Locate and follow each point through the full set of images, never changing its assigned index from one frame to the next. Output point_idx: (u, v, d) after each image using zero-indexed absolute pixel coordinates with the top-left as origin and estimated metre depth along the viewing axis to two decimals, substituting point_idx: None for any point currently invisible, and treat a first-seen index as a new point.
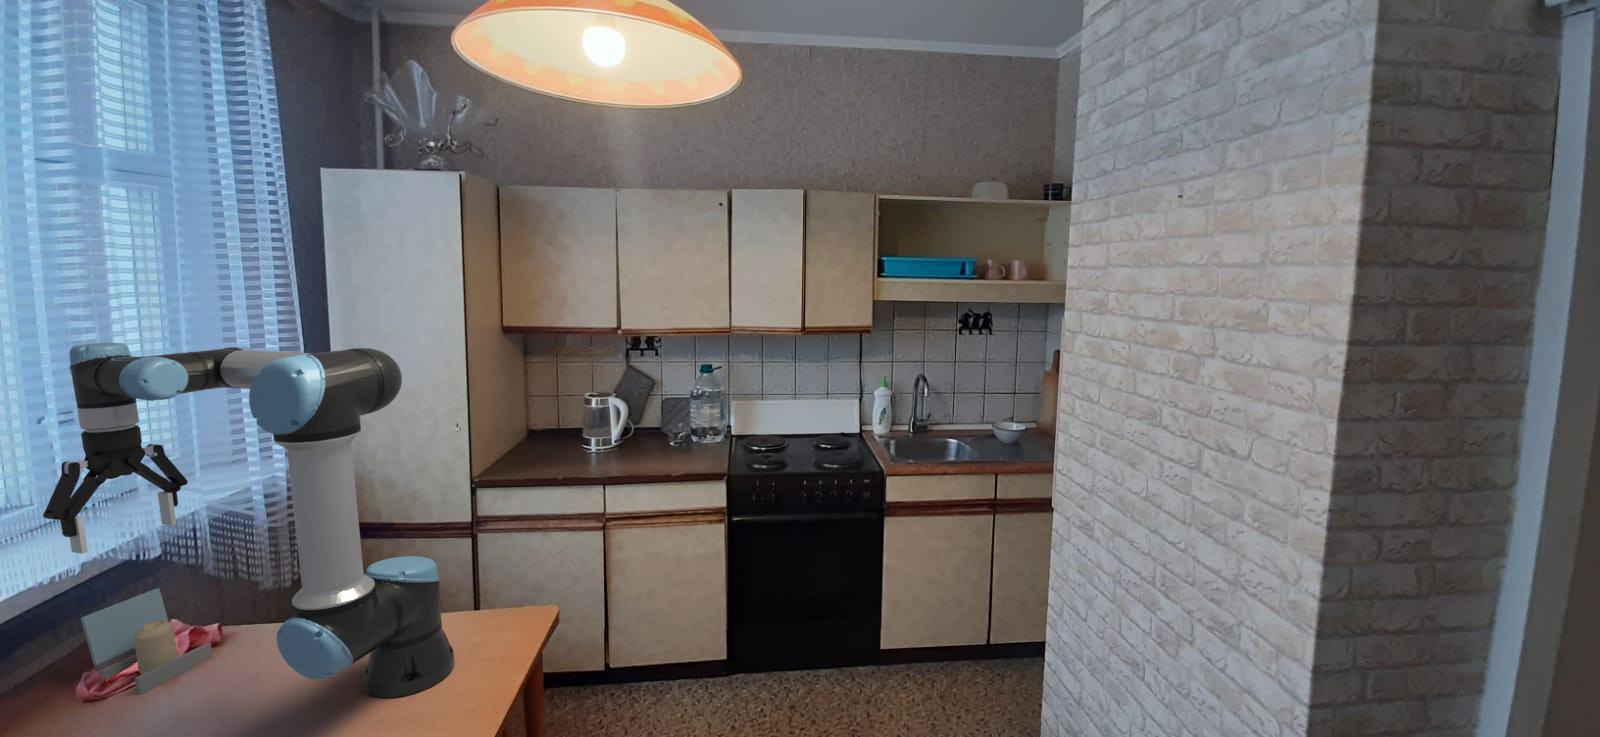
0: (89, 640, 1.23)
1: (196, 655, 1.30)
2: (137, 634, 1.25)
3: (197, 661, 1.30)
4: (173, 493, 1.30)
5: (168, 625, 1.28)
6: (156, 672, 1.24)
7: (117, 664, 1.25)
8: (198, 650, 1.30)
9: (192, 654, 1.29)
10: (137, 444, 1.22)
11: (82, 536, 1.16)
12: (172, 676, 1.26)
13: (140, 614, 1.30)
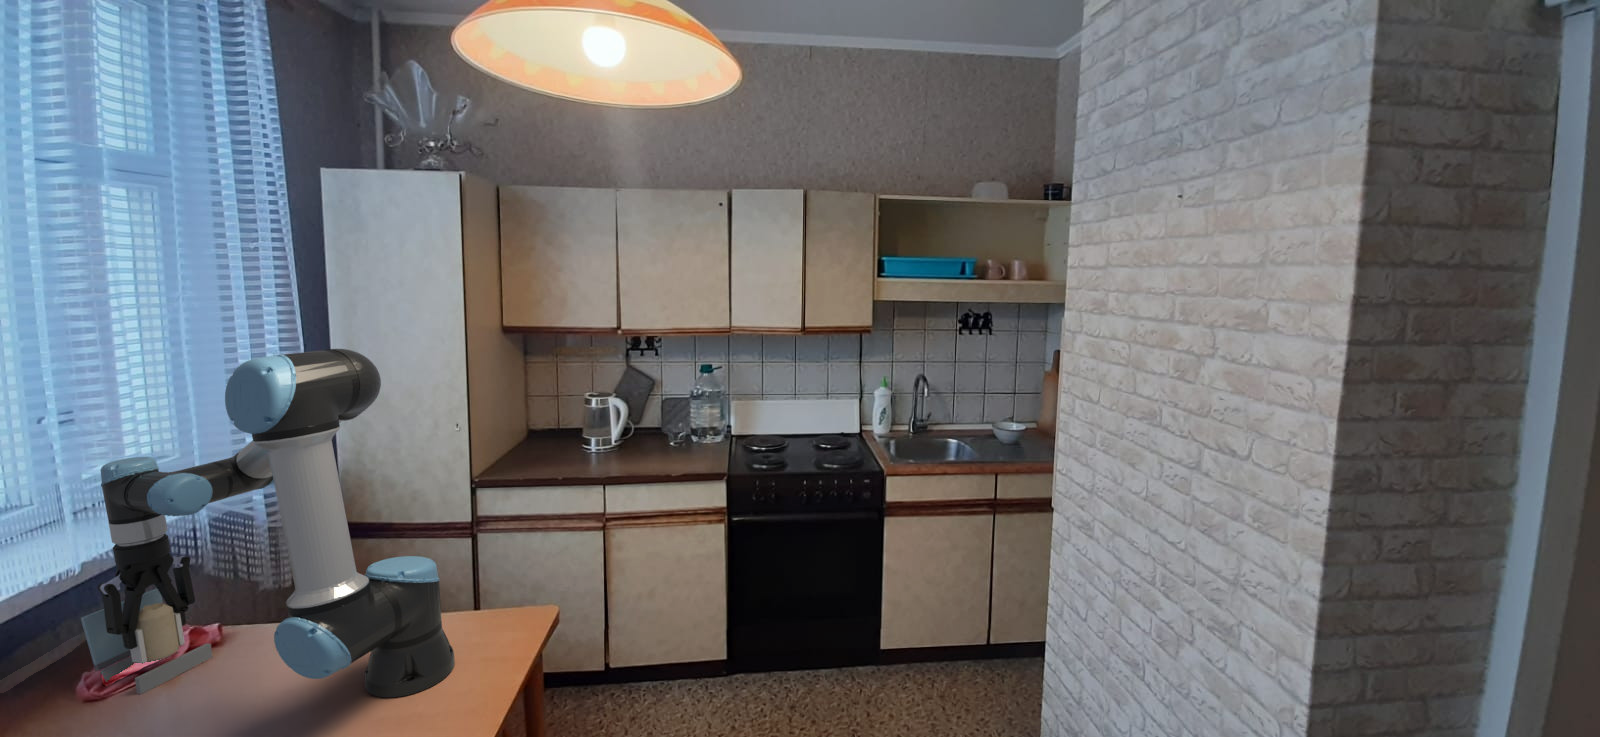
0: (89, 640, 1.23)
1: (196, 655, 1.30)
2: None
3: (197, 661, 1.30)
4: (181, 613, 1.31)
5: (167, 607, 1.27)
6: (156, 672, 1.24)
7: (117, 664, 1.25)
8: (198, 650, 1.30)
9: (192, 654, 1.29)
10: (166, 553, 1.26)
11: (142, 647, 1.24)
12: (172, 676, 1.26)
13: None
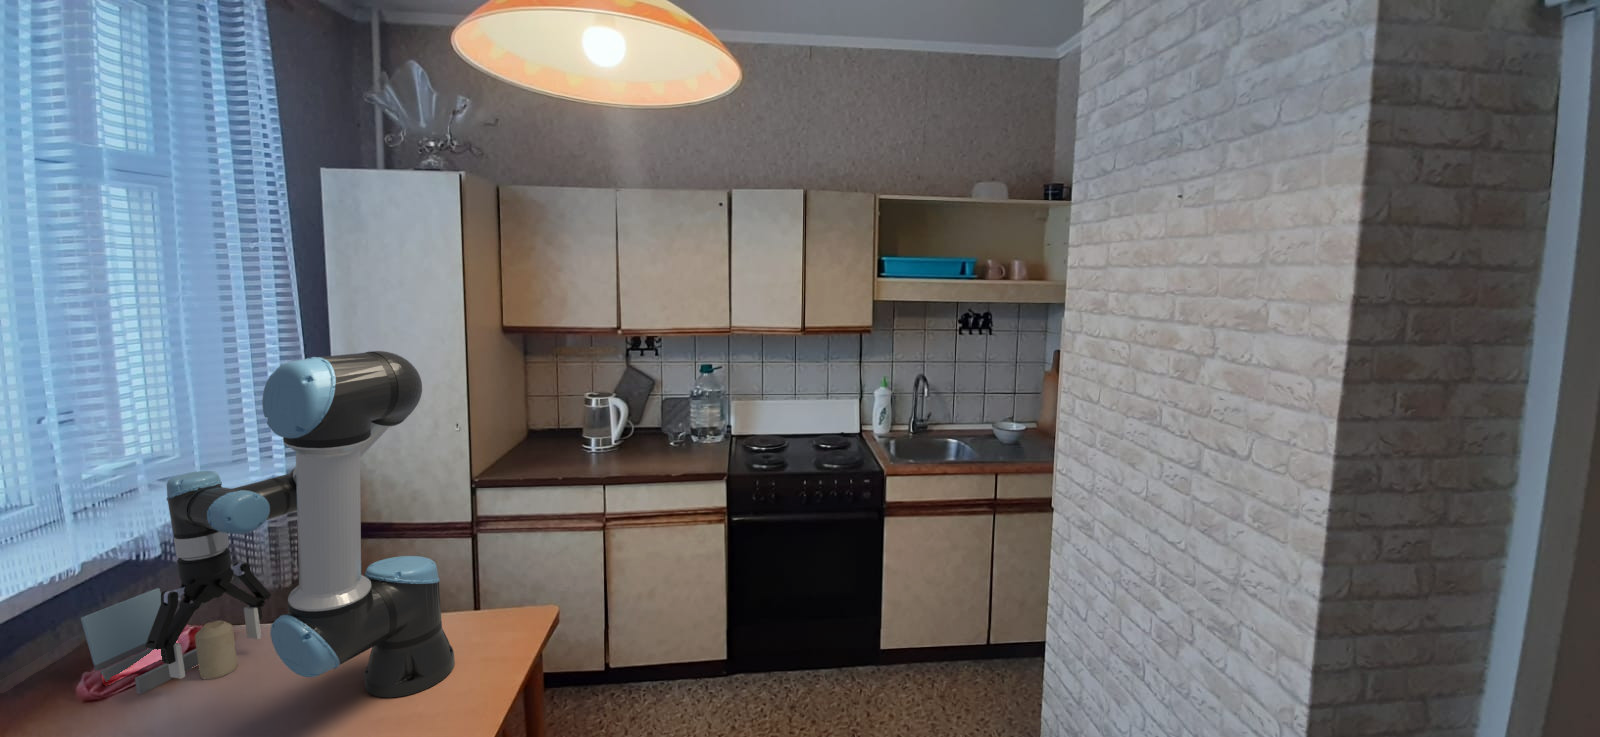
0: (89, 640, 1.23)
1: (196, 655, 1.30)
2: (198, 634, 1.25)
3: (197, 661, 1.30)
4: (258, 607, 1.34)
5: (228, 625, 1.28)
6: (156, 672, 1.24)
7: (117, 664, 1.25)
8: None
9: (192, 654, 1.29)
10: (228, 567, 1.26)
11: (180, 662, 1.21)
12: None
13: (140, 614, 1.30)
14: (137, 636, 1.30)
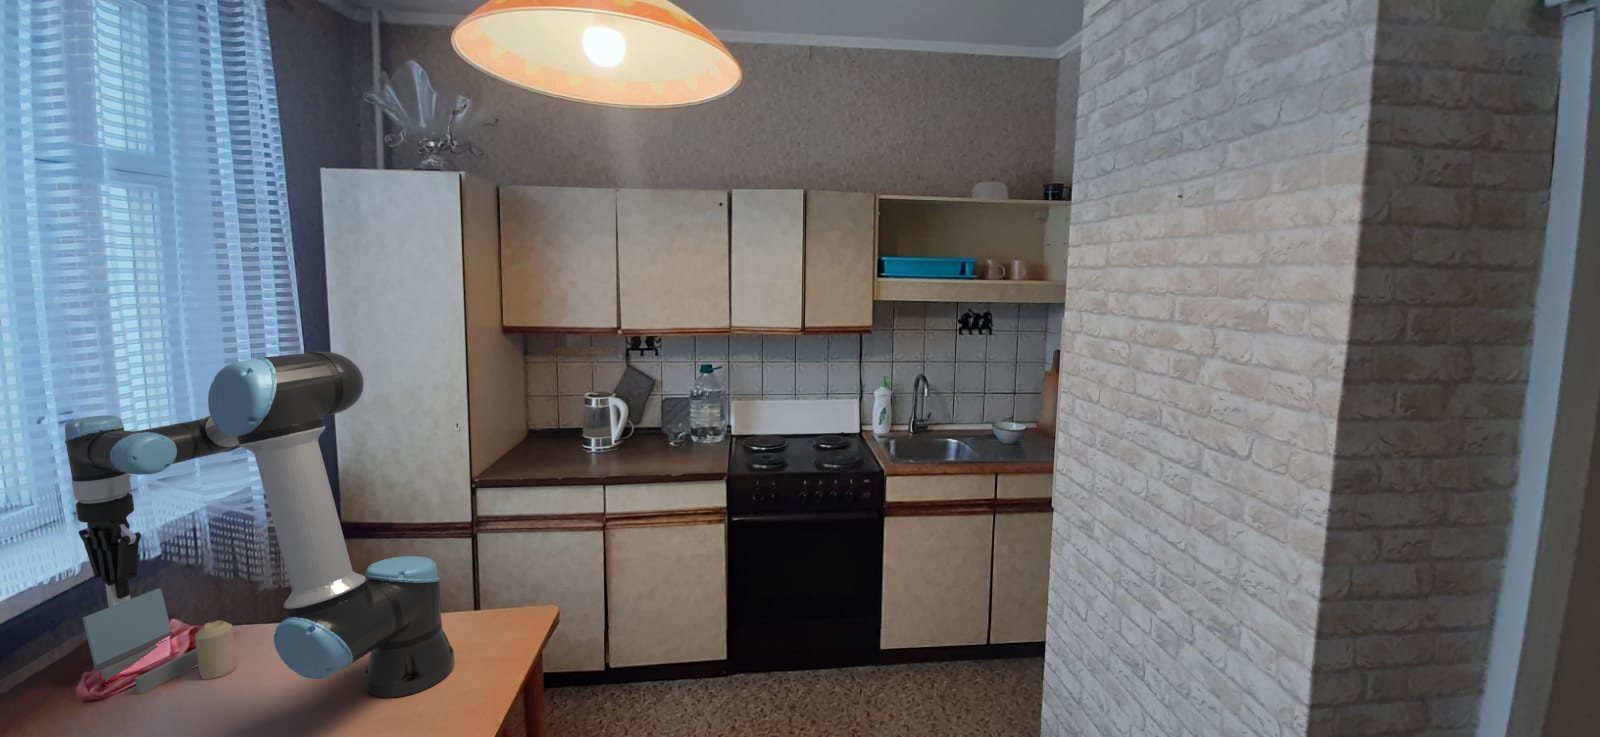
0: (90, 640, 1.23)
1: (196, 655, 1.30)
2: (198, 634, 1.25)
3: (197, 661, 1.30)
4: (117, 585, 1.27)
5: (228, 625, 1.28)
6: (156, 672, 1.24)
7: (117, 664, 1.25)
8: None
9: (192, 654, 1.29)
10: (90, 520, 1.22)
11: (108, 600, 1.27)
12: (172, 676, 1.26)
13: (141, 614, 1.30)
14: (137, 636, 1.30)
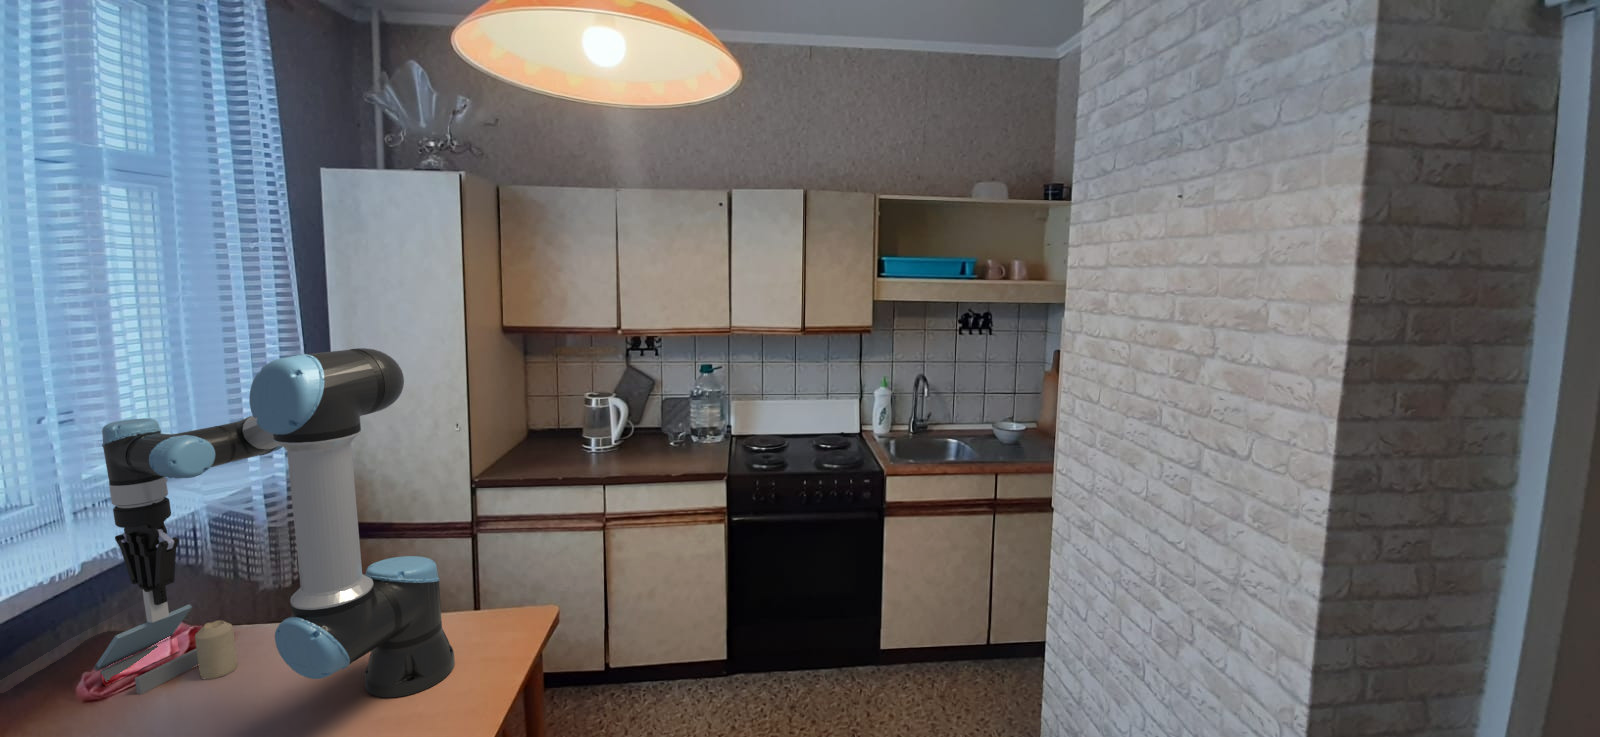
0: (108, 652, 1.22)
1: (196, 655, 1.30)
2: (198, 634, 1.25)
3: (197, 661, 1.30)
4: (154, 591, 1.24)
5: (228, 625, 1.28)
6: (156, 672, 1.24)
7: (117, 664, 1.25)
8: None
9: (192, 654, 1.29)
10: (128, 526, 1.20)
11: (146, 606, 1.25)
12: (172, 676, 1.26)
13: (161, 627, 1.29)
14: (145, 642, 1.29)
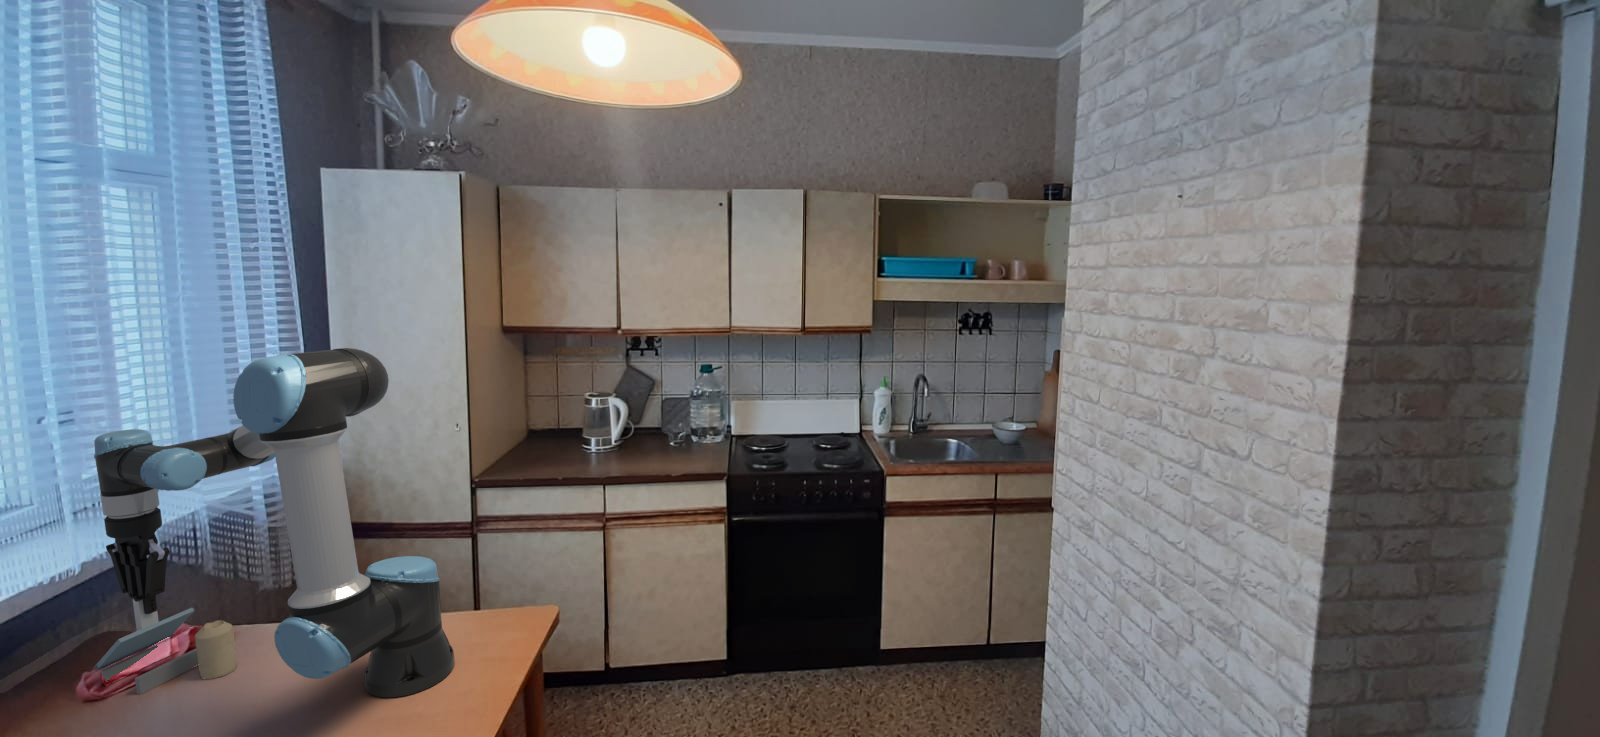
0: (109, 654, 1.22)
1: (196, 655, 1.30)
2: (198, 634, 1.25)
3: (197, 661, 1.30)
4: (145, 601, 1.26)
5: (228, 625, 1.28)
6: (156, 672, 1.24)
7: (117, 664, 1.25)
8: None
9: (192, 654, 1.29)
10: (119, 536, 1.21)
11: (136, 616, 1.26)
12: (172, 676, 1.26)
13: (163, 629, 1.29)
14: (146, 643, 1.29)
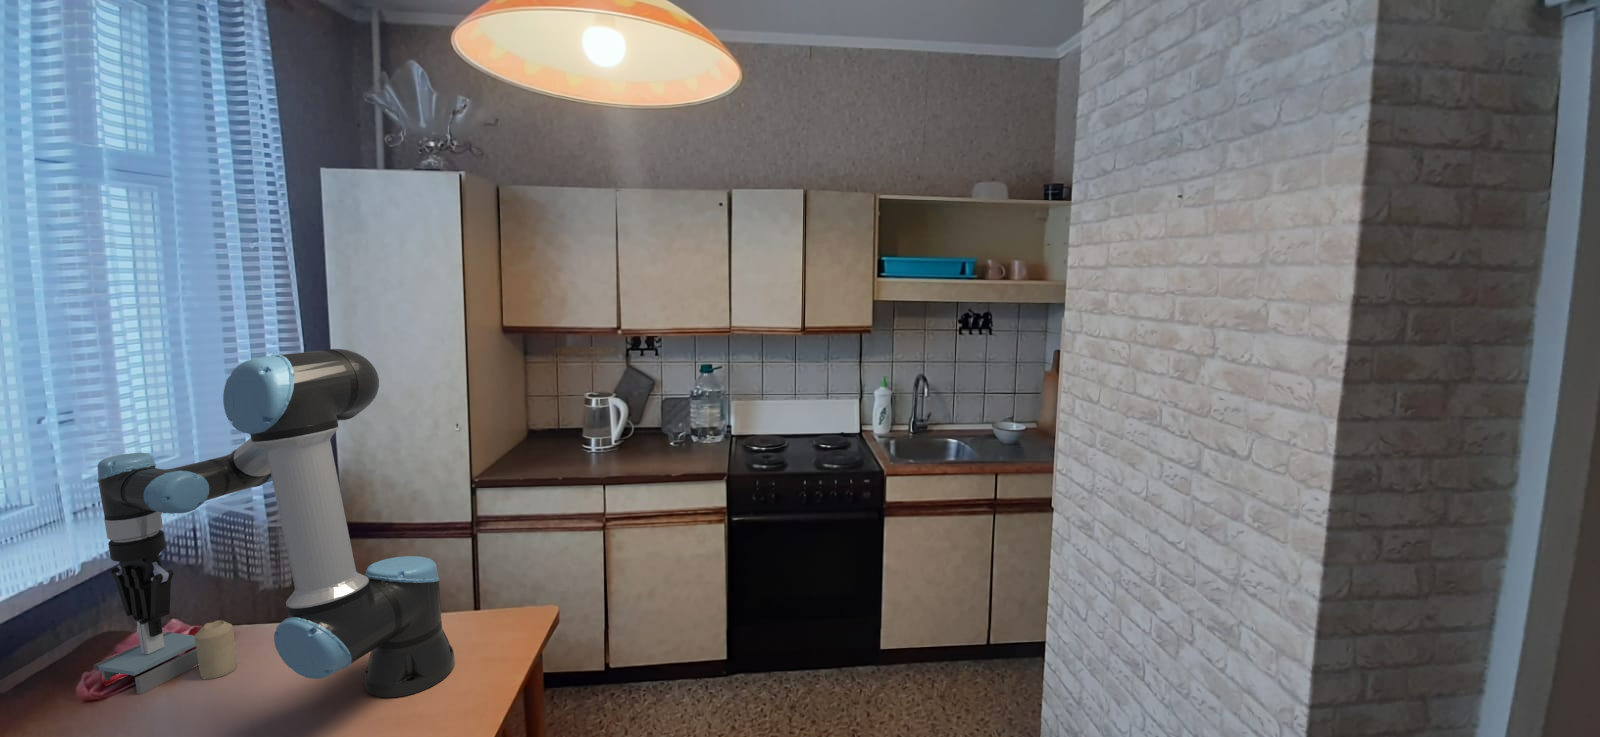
0: (117, 672, 1.22)
1: (196, 655, 1.30)
2: (198, 634, 1.25)
3: (197, 661, 1.30)
4: (150, 623, 1.26)
5: (228, 625, 1.28)
6: (156, 672, 1.24)
7: None
8: None
9: (192, 654, 1.29)
10: (123, 560, 1.21)
11: (140, 638, 1.26)
12: (172, 676, 1.26)
13: None
14: None
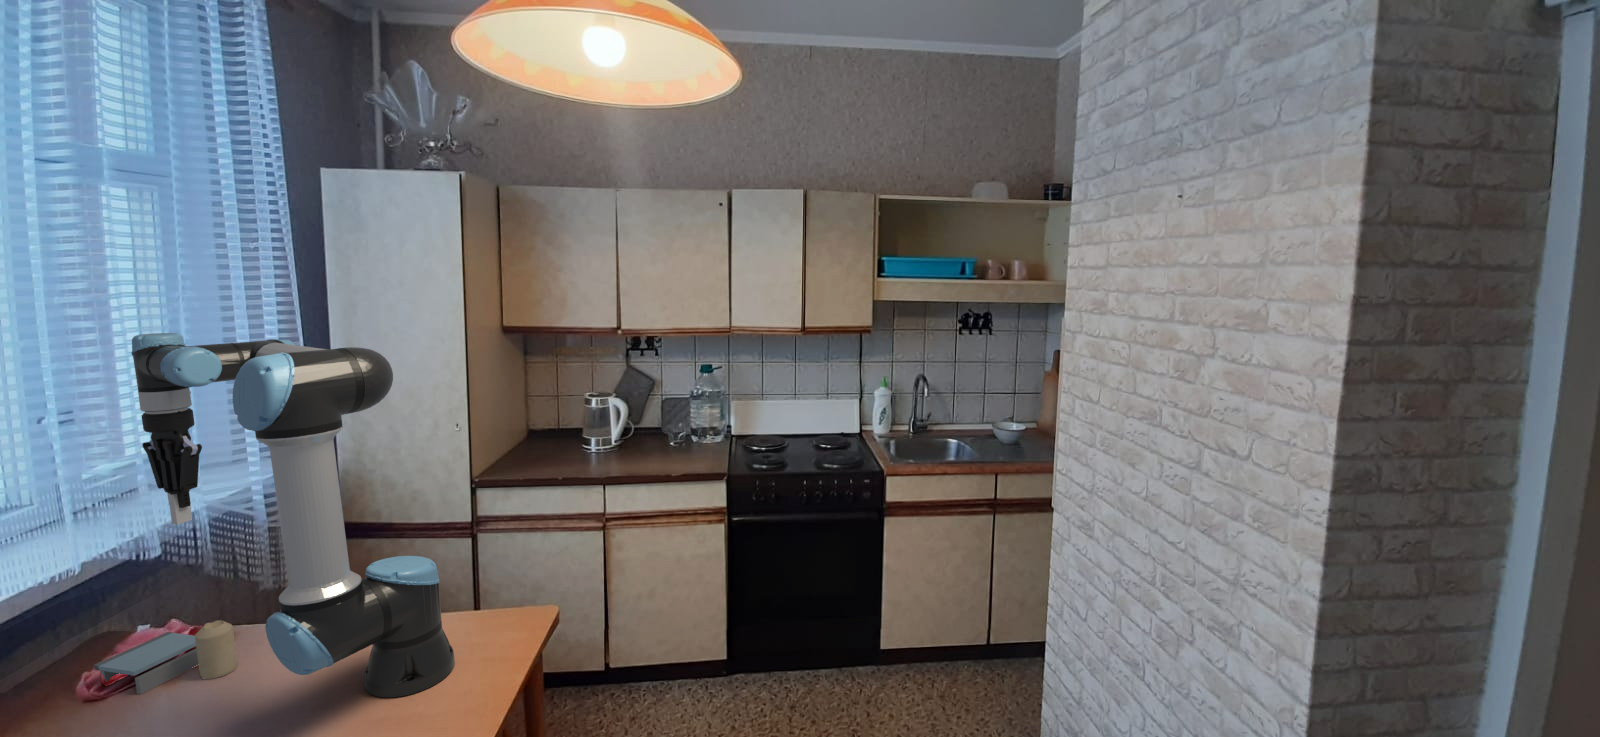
0: (117, 672, 1.22)
1: (196, 655, 1.30)
2: (198, 634, 1.25)
3: (197, 661, 1.30)
4: (179, 495, 1.33)
5: (228, 625, 1.28)
6: (156, 672, 1.24)
7: None
8: None
9: (192, 654, 1.29)
10: (156, 430, 1.29)
11: (171, 509, 1.34)
12: (172, 676, 1.26)
13: None
14: None
